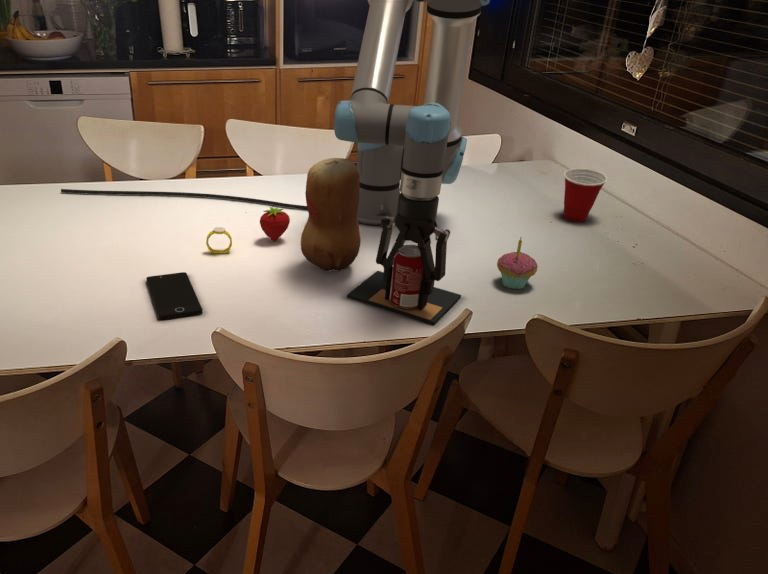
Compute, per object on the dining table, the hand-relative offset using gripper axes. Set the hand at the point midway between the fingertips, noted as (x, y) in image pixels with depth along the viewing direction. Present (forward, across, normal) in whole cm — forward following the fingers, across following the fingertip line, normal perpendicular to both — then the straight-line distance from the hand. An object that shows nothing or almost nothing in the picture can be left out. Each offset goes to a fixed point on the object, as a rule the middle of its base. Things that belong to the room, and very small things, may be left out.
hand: (405, 301), depth 141 cm
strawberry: (+2, -41, +12) cm, 43 cm away
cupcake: (+2, +15, +24) cm, 28 cm away
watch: (+2, -48, -1) cm, 48 cm away
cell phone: (+2, -42, -24) cm, 49 cm away
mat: (+1, -2, +4) cm, 4 cm away
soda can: (+1, 0, 0) cm, 1 cm away
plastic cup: (+1, +16, +72) cm, 73 cm away
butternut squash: (+2, -22, +7) cm, 23 cm away
